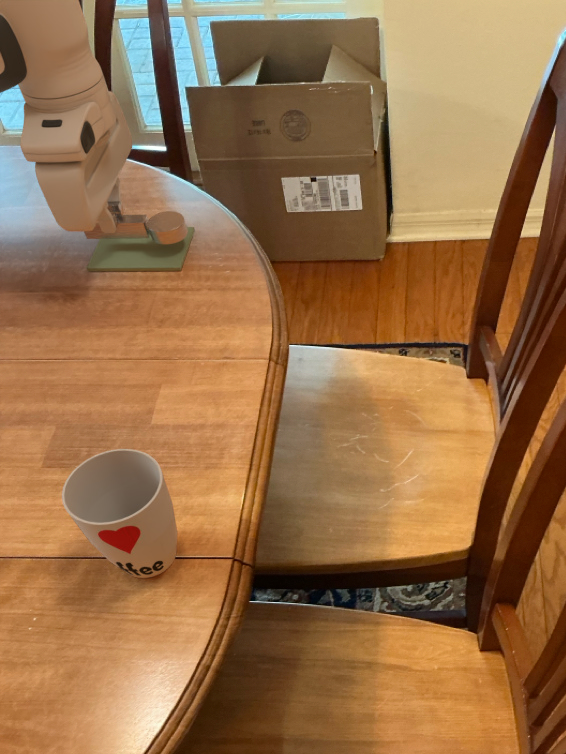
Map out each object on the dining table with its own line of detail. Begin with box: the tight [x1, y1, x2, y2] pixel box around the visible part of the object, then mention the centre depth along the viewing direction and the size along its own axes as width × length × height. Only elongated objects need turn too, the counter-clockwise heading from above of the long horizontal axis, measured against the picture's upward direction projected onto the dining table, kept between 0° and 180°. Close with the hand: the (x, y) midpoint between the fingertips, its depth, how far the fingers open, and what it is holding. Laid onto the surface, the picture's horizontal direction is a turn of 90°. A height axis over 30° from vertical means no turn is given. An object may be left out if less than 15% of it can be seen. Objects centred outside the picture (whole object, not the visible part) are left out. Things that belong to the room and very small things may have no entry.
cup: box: [61, 448, 178, 579], centre depth 67 cm, size 8×8×10 cm
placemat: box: [86, 226, 196, 272], centre depth 99 cm, size 12×9×1 cm
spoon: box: [83, 210, 188, 245], centre depth 97 cm, size 13×5×2 cm, turn 88°
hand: (114, 222), depth 96 cm, fingers closed on spoon, 2 cm apart
